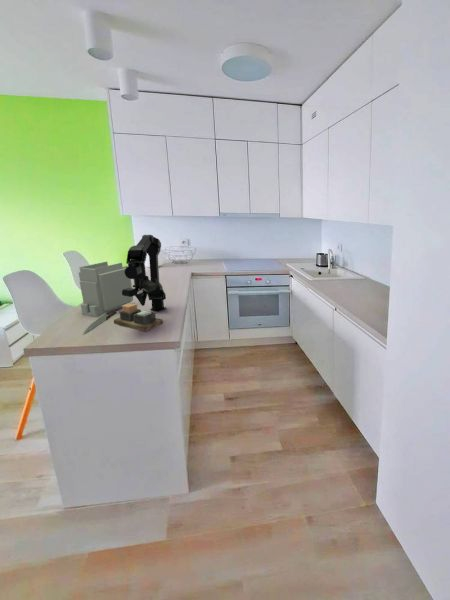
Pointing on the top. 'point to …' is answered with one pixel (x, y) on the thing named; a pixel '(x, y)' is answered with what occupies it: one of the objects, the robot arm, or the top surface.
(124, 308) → the terracotta button
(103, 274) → the toaster
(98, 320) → the kitchen knife
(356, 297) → the top surface
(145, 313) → the grey button
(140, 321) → the button board
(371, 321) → the top surface
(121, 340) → the top surface
